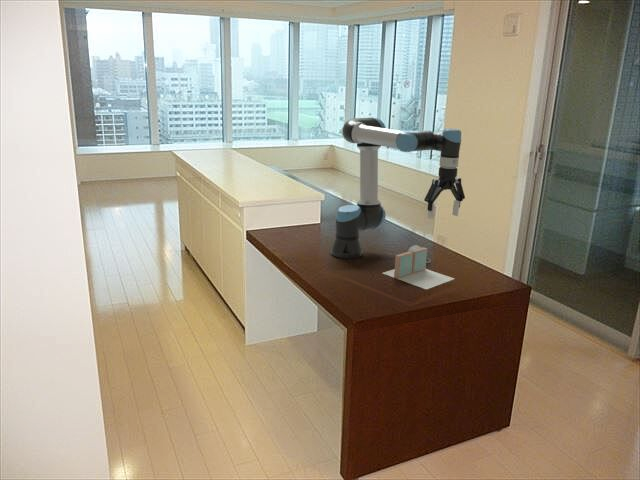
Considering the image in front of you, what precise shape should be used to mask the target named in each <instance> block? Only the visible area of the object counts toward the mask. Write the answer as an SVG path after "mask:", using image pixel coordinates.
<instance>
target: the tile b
mask: <svg viewBox="0 0 640 480" xmlns="http://www.w3.org/2000/svg"><path fill="white" fill-rule="evenodd" d="M411 252H413V261H412V273H411V274H414V273H417V272H420V271H423V270H426V269H427V268H426V267H427V263H426V261H427V260H426V259H427V258H428V248H427V247H424V246H423V247H421V248H419V249H416V250H412V251H411Z"/></svg>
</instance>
